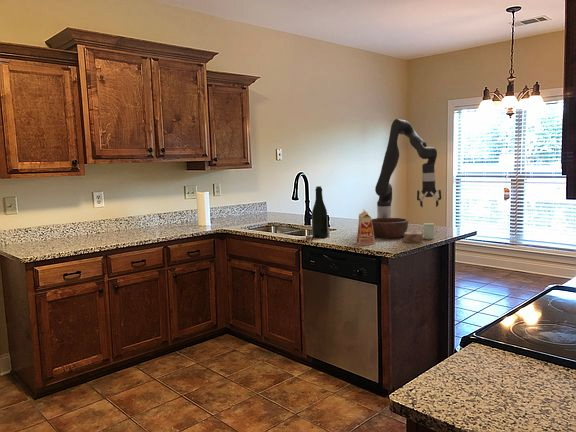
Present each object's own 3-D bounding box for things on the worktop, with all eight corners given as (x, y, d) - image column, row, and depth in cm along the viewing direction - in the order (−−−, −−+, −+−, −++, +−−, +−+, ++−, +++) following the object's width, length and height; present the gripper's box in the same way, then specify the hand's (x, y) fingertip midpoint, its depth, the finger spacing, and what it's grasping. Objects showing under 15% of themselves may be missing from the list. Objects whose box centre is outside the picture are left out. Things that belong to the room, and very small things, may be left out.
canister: (424, 238, 291) (424, 224, 290) (424, 237, 296) (424, 223, 295) (434, 239, 289) (434, 224, 288) (434, 237, 295) (434, 223, 294)
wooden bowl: (409, 239, 292) (409, 222, 291) (368, 239, 297) (367, 223, 295) (407, 232, 316) (407, 217, 315) (368, 233, 321) (368, 217, 320)
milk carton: (356, 242, 287) (355, 209, 285) (371, 241, 288) (370, 208, 285) (359, 245, 278) (358, 211, 276) (375, 244, 279) (374, 210, 276)
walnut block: (404, 242, 283) (404, 234, 282) (405, 239, 292) (405, 231, 291) (421, 242, 279) (421, 234, 279) (422, 240, 289) (422, 231, 288)
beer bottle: (315, 235, 319) (313, 185, 316) (330, 235, 316) (328, 185, 312) (310, 238, 310) (308, 186, 306) (325, 238, 306) (324, 186, 302)
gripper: (416, 181, 289) (417, 208, 290) (441, 180, 284) (441, 207, 286) (416, 180, 296) (417, 206, 297) (440, 179, 292) (441, 206, 293)
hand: (429, 207), depth 292 cm, fingers open, 8 cm apart
